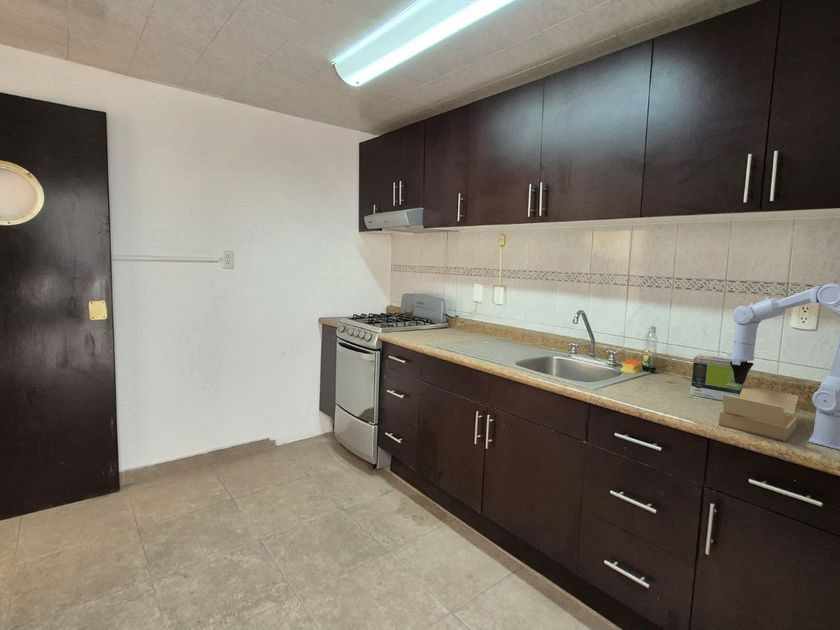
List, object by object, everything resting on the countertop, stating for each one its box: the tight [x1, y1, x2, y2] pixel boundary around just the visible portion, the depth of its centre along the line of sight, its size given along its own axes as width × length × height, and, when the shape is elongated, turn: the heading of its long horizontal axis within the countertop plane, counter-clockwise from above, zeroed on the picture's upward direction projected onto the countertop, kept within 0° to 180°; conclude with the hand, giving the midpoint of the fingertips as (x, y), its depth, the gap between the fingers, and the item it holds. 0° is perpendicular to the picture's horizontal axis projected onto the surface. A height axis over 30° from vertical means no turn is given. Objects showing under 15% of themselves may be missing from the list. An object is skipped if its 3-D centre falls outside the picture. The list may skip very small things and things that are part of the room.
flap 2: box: [739, 384, 800, 416], centre depth 138 cm, size 14×7×1 cm
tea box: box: [690, 354, 744, 402], centre depth 163 cm, size 15×10×15 cm, turn 48°
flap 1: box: [722, 394, 785, 426], centre depth 125 cm, size 14×7×1 cm
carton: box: [718, 409, 799, 443], centre depth 132 cm, size 16×15×4 cm
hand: (739, 383), depth 145 cm, fingers closed
